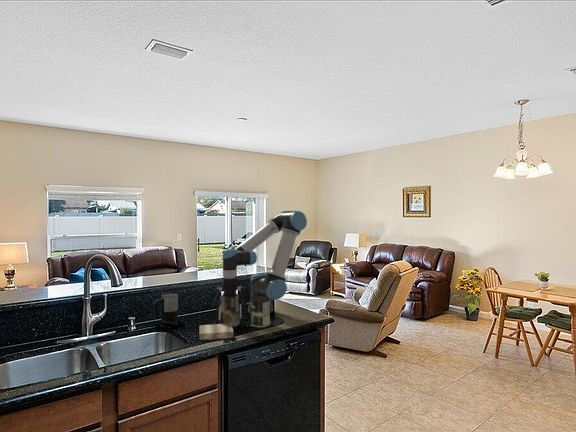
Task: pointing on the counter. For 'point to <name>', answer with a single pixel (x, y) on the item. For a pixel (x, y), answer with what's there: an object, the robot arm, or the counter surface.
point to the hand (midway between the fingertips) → (230, 318)
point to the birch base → (215, 331)
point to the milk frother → (167, 309)
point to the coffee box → (230, 309)
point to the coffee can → (260, 311)
